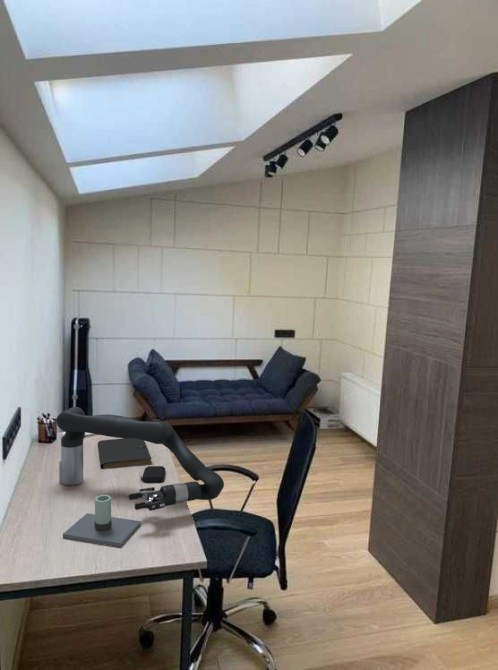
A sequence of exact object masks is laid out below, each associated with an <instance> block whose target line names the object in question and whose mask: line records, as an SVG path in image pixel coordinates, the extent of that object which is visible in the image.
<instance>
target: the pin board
mask: <svg viewBox="0 0 498 670" xmlns="http://www.w3.org/2000/svg"><path fill="white" fill-rule="evenodd" d="M111 520H112V527H111V528H110V529H109V530H106V531H96V529H95V513H89V512H87V513H85V514H84V515H83V516H82V517H81V518H79V520H77V521H76V522H75V523H74V524H72V525H71V526H70V527H69V528H68V529H67V530H65V532H63V533H62V539H66V538H70V539H69V540H72V539H75V540H74V541H80V542H85V543H92V544H97V543H99V544H98V545H103V544H106V545H105V546H109V545H112V546H111V547H115V546H120V547H119V548H122V547H123V545H124V544H125V543H126V542H127V541H126V540H127V539H128V540H129V539H130V537H131V536H132V535H133V534H134V533H135V532H136V531H137V530H136V529H139V528H140V526H141V520H134V519H128V518H123V517H122V518H121V517H116V516H111ZM125 541H126V542H125ZM123 543H124V544H123Z"/></svg>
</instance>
